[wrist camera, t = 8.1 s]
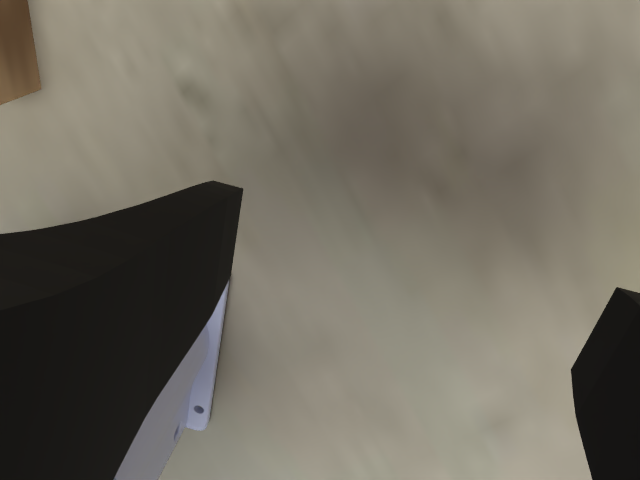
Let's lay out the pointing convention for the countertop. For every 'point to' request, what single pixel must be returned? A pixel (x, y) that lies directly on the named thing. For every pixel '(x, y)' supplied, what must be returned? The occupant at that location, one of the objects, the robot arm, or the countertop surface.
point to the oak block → (17, 52)
